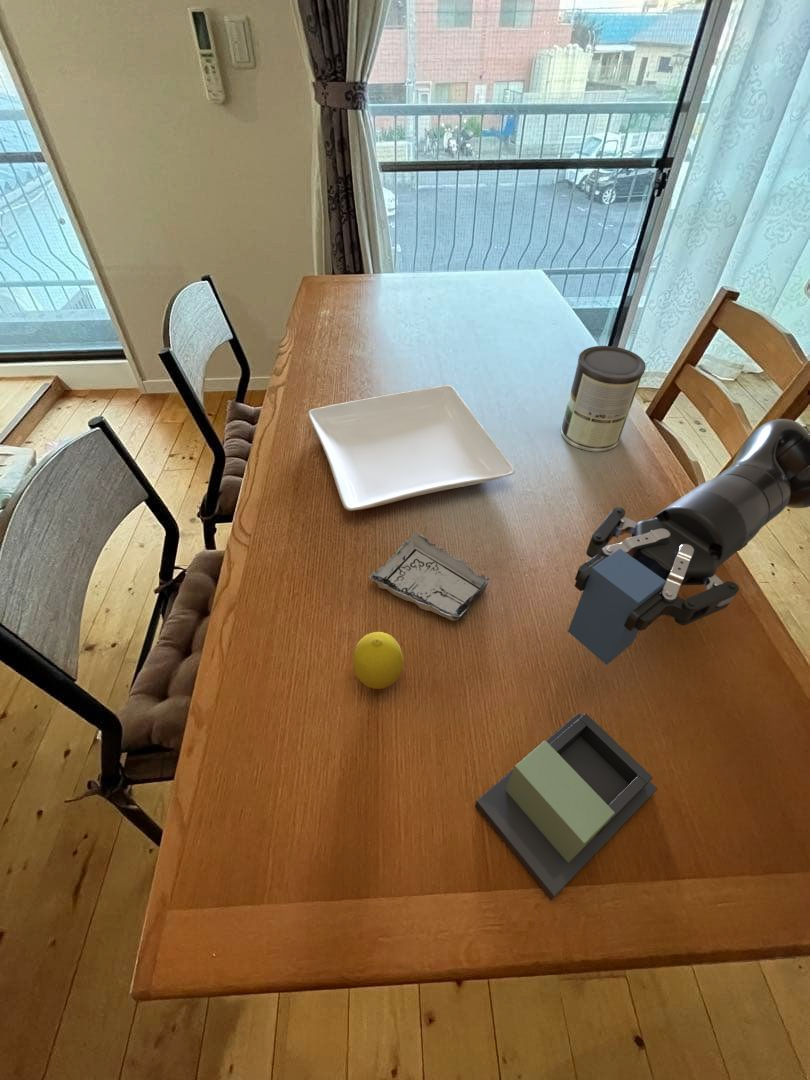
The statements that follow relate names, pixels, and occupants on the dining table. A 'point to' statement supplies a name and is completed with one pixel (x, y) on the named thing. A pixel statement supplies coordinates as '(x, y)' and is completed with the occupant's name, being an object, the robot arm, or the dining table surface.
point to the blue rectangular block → (612, 604)
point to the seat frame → (566, 801)
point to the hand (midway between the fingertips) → (604, 602)
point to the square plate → (405, 446)
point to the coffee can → (601, 397)
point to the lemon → (377, 660)
